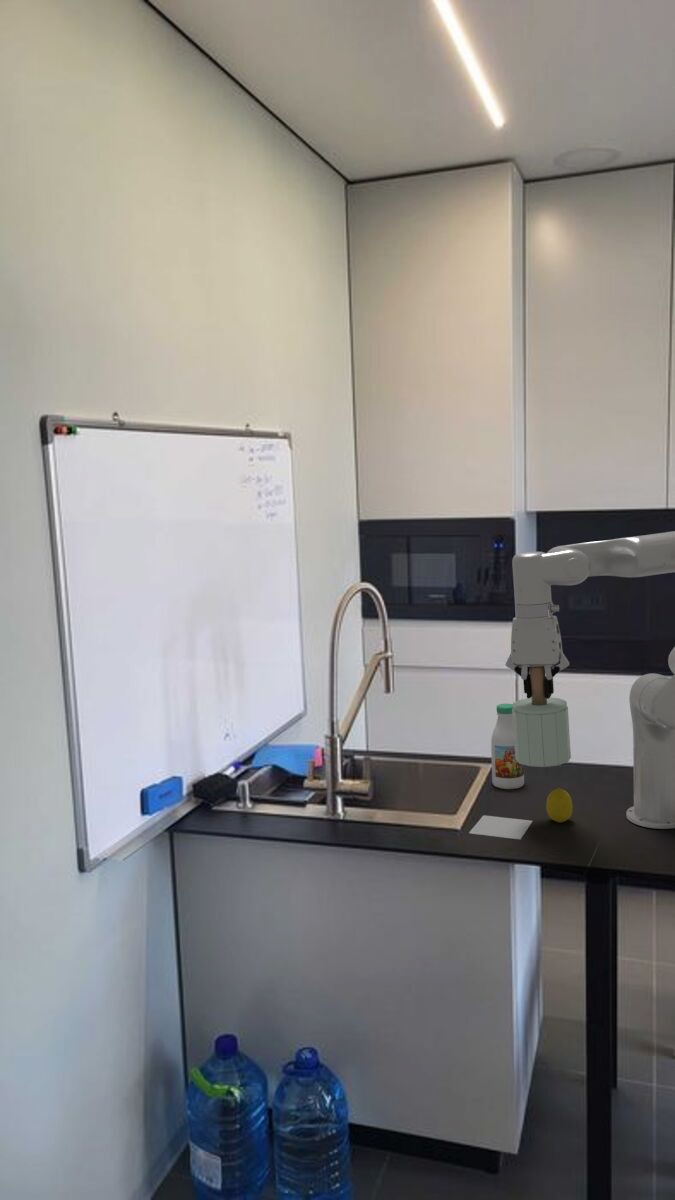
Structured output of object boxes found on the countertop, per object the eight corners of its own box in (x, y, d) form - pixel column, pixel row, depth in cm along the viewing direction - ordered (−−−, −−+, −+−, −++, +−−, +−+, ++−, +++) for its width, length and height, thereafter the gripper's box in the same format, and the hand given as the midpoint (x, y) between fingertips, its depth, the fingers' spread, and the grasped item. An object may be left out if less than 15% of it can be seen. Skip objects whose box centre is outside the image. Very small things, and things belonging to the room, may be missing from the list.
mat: (532, 823, 197) (532, 820, 197) (520, 842, 187) (520, 839, 187) (483, 817, 202) (483, 815, 202) (468, 835, 192) (468, 833, 192)
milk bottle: (485, 785, 223) (483, 706, 221) (505, 777, 228) (502, 700, 226) (511, 792, 218) (509, 710, 215) (530, 784, 223) (528, 704, 220)
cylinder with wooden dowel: (574, 751, 196) (569, 661, 194) (564, 767, 186) (558, 672, 184) (523, 749, 201) (517, 661, 199) (510, 765, 191) (504, 672, 189)
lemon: (570, 819, 199) (570, 783, 198) (574, 828, 193) (574, 792, 192) (545, 819, 199) (544, 784, 198) (548, 828, 194) (547, 792, 193)
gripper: (576, 607, 190) (581, 693, 192) (499, 609, 197) (505, 692, 199) (570, 613, 183) (575, 702, 185) (490, 615, 190) (496, 700, 192)
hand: (539, 696), depth 192 cm, fingers closed on cylinder with wooden dowel, 3 cm apart
